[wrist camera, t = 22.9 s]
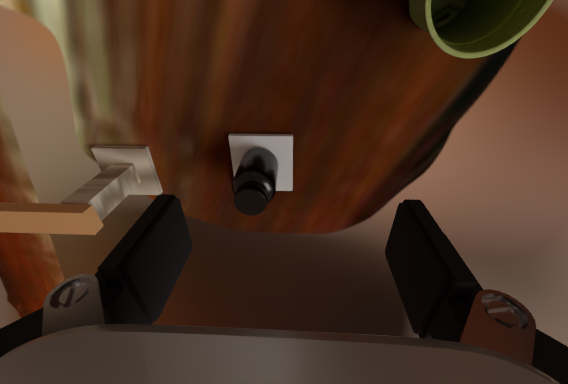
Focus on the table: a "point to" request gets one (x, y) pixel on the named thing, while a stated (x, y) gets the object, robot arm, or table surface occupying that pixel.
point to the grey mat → (273, 142)
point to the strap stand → (117, 178)
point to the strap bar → (49, 218)
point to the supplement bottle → (255, 181)
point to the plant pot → (476, 23)
